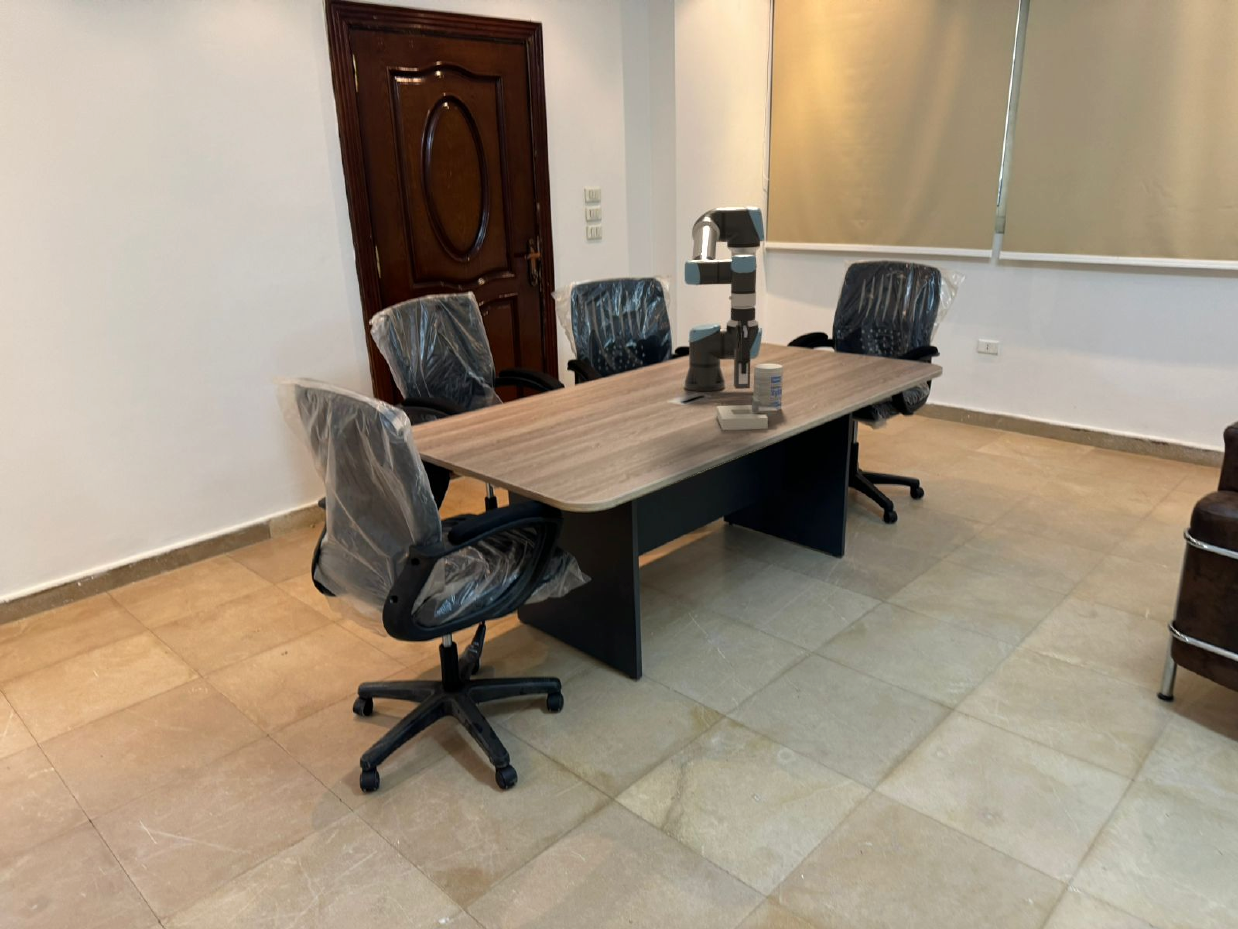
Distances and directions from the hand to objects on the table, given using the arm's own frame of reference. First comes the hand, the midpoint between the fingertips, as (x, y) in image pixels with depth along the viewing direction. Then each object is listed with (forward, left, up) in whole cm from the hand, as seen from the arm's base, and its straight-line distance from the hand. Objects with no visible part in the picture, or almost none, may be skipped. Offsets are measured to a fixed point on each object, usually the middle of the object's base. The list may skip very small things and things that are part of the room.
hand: (742, 381), depth 256 cm
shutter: (0, +7, -10) cm, 12 cm away
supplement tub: (-16, +11, -14) cm, 24 cm away
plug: (0, 0, -2) cm, 2 cm away
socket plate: (0, 0, -13) cm, 13 cm away
